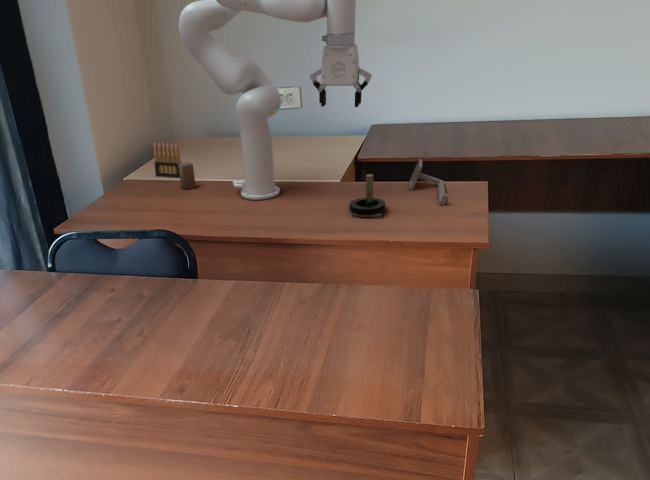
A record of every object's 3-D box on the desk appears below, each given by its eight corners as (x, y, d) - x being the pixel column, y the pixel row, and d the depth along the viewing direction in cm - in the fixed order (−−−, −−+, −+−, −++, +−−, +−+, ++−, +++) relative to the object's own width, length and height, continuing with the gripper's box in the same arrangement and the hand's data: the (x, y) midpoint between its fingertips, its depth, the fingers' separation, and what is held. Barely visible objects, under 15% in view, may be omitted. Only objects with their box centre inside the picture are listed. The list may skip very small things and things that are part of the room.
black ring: (347, 214, 190) (347, 208, 189) (352, 203, 198) (352, 197, 197) (382, 215, 187) (383, 209, 186) (386, 203, 195) (386, 197, 194)
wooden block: (196, 187, 225) (193, 163, 221) (185, 189, 224) (181, 166, 220) (191, 184, 228) (188, 161, 224) (180, 186, 227) (177, 163, 223)
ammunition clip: (184, 176, 238) (179, 141, 231) (181, 177, 236) (176, 143, 230) (158, 174, 242) (153, 140, 236) (155, 175, 240) (150, 142, 234)
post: (353, 217, 191) (353, 179, 185) (357, 207, 197) (357, 170, 191) (381, 218, 188) (382, 179, 183) (384, 208, 195) (385, 171, 189)
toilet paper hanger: (439, 214, 195) (450, 191, 191) (409, 204, 195) (419, 180, 191) (437, 190, 214) (447, 168, 210) (409, 180, 214) (419, 158, 210)
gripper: (306, 42, 180) (307, 108, 189) (370, 41, 175) (368, 109, 184) (313, 38, 186) (313, 102, 195) (375, 37, 181) (372, 103, 190)
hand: (340, 106), depth 189 cm, fingers open, 9 cm apart
